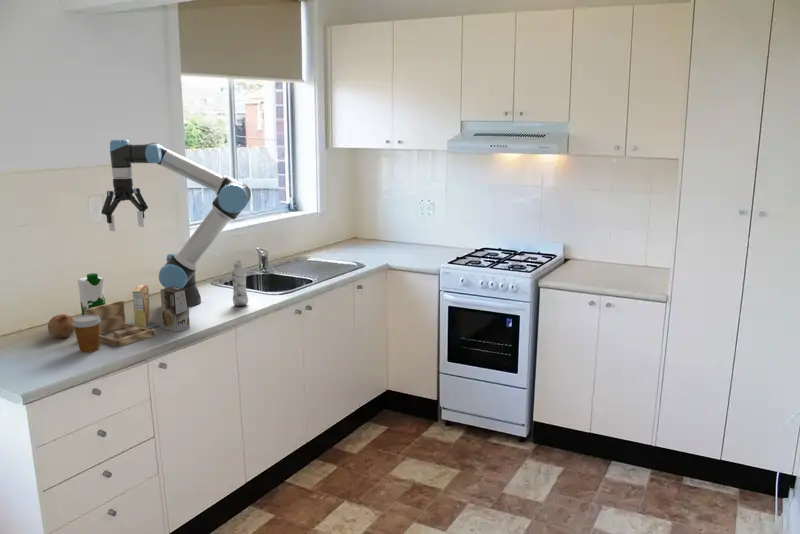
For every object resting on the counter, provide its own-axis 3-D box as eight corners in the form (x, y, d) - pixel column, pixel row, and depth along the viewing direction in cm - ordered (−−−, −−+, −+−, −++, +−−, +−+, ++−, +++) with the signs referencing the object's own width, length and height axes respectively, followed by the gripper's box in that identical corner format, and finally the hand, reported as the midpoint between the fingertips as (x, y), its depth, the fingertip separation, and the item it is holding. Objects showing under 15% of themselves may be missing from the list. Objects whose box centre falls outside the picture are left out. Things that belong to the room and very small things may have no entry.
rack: (124, 326, 274) (121, 300, 272) (154, 335, 264) (152, 308, 261) (87, 337, 261) (84, 309, 259) (117, 346, 251) (114, 318, 248)
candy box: (140, 321, 279) (137, 285, 276) (151, 321, 280) (148, 284, 276) (134, 328, 271) (131, 290, 267) (145, 327, 271) (142, 290, 268)
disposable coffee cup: (71, 349, 248) (67, 318, 245) (97, 343, 254) (94, 312, 252) (80, 356, 241) (77, 323, 239) (107, 349, 248) (104, 318, 245)
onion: (69, 345, 261) (71, 326, 256) (43, 341, 258) (44, 321, 253) (77, 330, 268) (79, 310, 263) (51, 325, 266) (53, 305, 261)
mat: (142, 321, 281) (141, 319, 281) (160, 326, 275) (160, 324, 275) (124, 326, 275) (124, 324, 275) (143, 331, 268) (143, 330, 268)
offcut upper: (136, 331, 263) (136, 326, 262) (141, 333, 260) (141, 328, 260) (114, 337, 256) (113, 331, 256) (118, 339, 254) (118, 333, 253)
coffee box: (190, 327, 273) (188, 289, 269) (177, 332, 268) (174, 292, 264) (176, 323, 278) (173, 285, 274) (162, 327, 273) (159, 289, 269)
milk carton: (88, 325, 276) (83, 277, 271) (79, 320, 282) (74, 273, 278) (109, 320, 282) (105, 273, 278) (100, 316, 288) (95, 270, 284)
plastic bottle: (249, 306, 303) (247, 262, 298) (234, 308, 300) (231, 264, 296) (247, 302, 308) (245, 259, 304) (231, 304, 306) (229, 261, 302)
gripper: (143, 175, 292) (147, 223, 297) (89, 179, 272) (94, 232, 277) (154, 175, 288) (157, 225, 293) (99, 180, 268) (105, 233, 272)
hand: (126, 228), depth 285 cm, fingers open, 13 cm apart
